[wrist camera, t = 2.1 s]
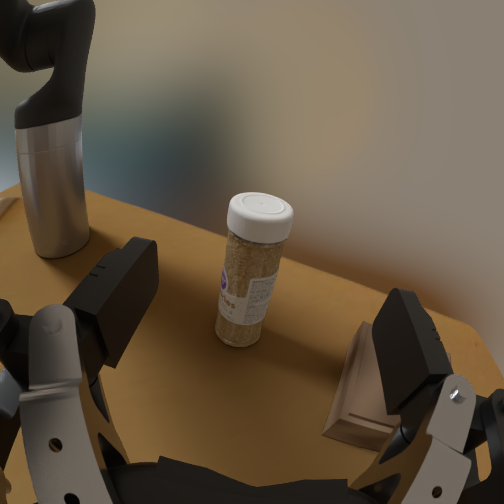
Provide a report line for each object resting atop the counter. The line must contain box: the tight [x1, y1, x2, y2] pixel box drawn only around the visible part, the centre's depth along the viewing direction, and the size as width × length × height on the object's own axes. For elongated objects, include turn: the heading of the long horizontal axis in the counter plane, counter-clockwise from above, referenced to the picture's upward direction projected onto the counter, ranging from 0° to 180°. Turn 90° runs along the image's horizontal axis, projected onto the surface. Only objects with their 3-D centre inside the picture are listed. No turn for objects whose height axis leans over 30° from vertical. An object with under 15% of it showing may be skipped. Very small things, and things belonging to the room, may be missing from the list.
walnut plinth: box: [322, 321, 451, 452], centre depth 20 cm, size 11×11×4 cm
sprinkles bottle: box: [215, 192, 294, 347], centre depth 23 cm, size 5×5×14 cm
